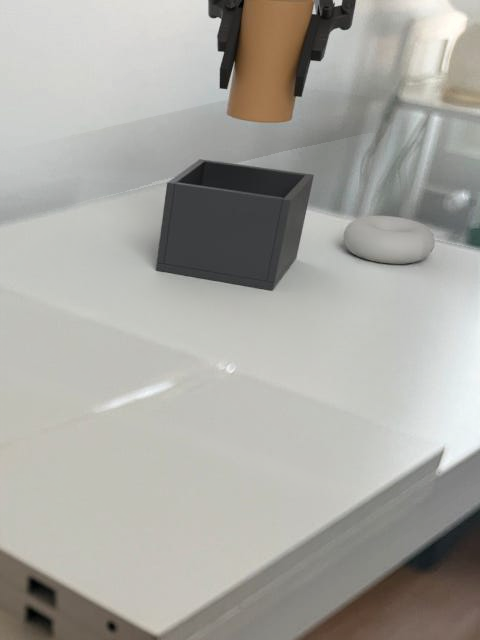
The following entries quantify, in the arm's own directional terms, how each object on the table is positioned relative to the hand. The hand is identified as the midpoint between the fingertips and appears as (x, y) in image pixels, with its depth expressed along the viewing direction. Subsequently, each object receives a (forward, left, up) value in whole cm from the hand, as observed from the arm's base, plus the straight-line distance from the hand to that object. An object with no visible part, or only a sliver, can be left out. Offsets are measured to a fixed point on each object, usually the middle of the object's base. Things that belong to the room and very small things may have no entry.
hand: (260, 82), depth 97 cm
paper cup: (+1, -3, -3) cm, 5 cm away
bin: (+2, -5, -18) cm, 19 cm away
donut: (-9, -22, -19) cm, 30 cm away
